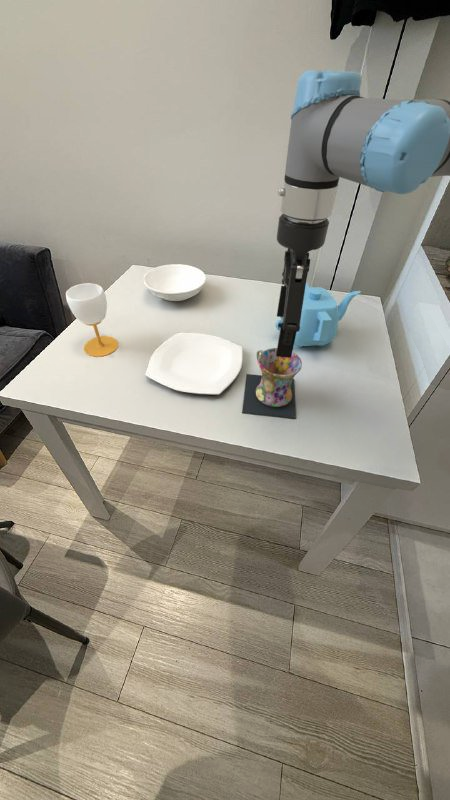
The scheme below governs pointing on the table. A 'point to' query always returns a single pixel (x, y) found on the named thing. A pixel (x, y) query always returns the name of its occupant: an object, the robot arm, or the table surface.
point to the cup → (91, 316)
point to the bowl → (174, 281)
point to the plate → (196, 363)
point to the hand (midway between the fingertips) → (283, 334)
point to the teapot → (319, 317)
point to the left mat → (258, 408)
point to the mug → (276, 377)
